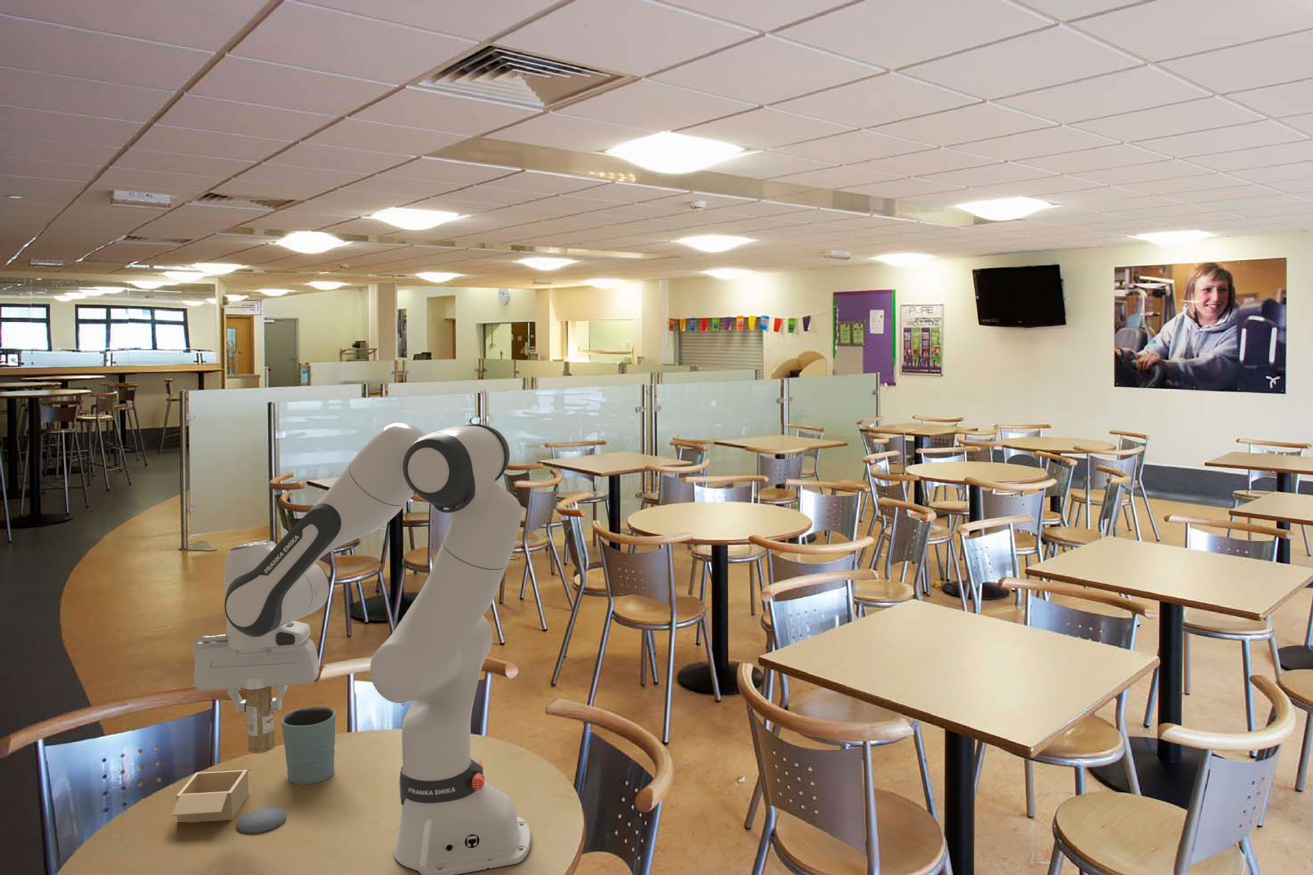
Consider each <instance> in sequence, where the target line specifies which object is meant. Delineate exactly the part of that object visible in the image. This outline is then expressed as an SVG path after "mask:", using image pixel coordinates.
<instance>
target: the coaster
mask: <svg viewBox="0 0 1313 875" xmlns="http://www.w3.org/2000/svg"><path fill="white" fill-rule="evenodd" d="M286 820H287V813H286V811H285V810H284V809H283V808H281V807H274V806H271V807H270V806H267V807H260V808H257V809H253V810H251V811H249V812H246V813H243V815H241V816H240V817H239V818H238V819H237V821H236V828H237V830H238V831H239V832H240V833H244V834H259V833H260V834H261V833H265V832H269V831H272V830H274V829H277V828H278V827H280V826H281V825H283V824H284V822H286Z"/></svg>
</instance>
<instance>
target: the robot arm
mask: <svg viewBox="0 0 1313 875" xmlns="http://www.w3.org/2000/svg"><path fill="white" fill-rule="evenodd" d="M510 453H511V451H510V447H509V444H508V442H507V440H506V438H505V436H504V435H503V434H502V433H501V432H499V431H498V430H497V428H496V429H495V428H494V427H491V426H489V425H485V424H480V423H479V424H478V423H472V424H471V423H470V424H466V425H456V426H455V425H453V426H450V427H445V428H441V429H439V430H438V431H434V432H433V431H432V432H429V433H427V434H426V433H425V432H424V431H423V430H421V429H420V428H419V427H417V426H414V425H412V424H410V423H407V422H392V423H390V424H388V425H386V426H385V427H384V428H382V429H381V430H380V431H379V432H378V433H377V434H376V435H374V436H373V437H372V438H371V439H370V440H369V441H368V442H367V443H366V444H365V445H364V446H363V447H362V448H361V449H360V451H359V452H358V453H357V454H356V455H355V457H354V458H353V459H352V460H351V461H350V463H349V464H348V465H347V467H346V468H345V469H344V471H343V472H342V473H341V474H340V475H339V476H338V478H337V479H336V480H335V482H334V483H333V484H332V485H331V486H330V487H329V489H328V490H327V491H326V492H325V493H324V495H323V496H321V498H319V499H318V501H317V502H315V504H314V505H313V506H312V507H311V509H309V510H308V512H307V513H306V514H305V515H304V516H302V518H300V520H299V521H298V522H296V523H295V524H294V525H293V527H292V528H291V529H290V530H289V531H288V532H287V533H285V534H286V535H284V536H283V538H282V539H281V540H280V541H279V542H278V543H277V544H276V543H275V542H274V541H272V540H269V539H268V540H267V539H263V540H257V541H251V542H248V543H244V544H240V545H236V546H234V547H232V548H231V549H229V550H228V552H227V554H226V558H225V561H224V572H223V575H224V576H223V579H224V580H223V584H224V585H223V586H224V602H223V603H224V608H223V609H224V613H225V616H226V617H225V618H226V619H225V620H226V634H219V635H212V636H210V635H204V636H201V638H199V639H197V640H196V641H195V642H194V643H193V644H192V655H193V659H194V661H195V663H194V671H193V686H194V687H195V688H196V689H197V690H198V691H199V692H200V691H202V692H204V691H216V690H220V691H221V690H227V694H228V697H230V699H231V700H232V702H233V703H234V705H235V711H236V713H237V714H240V713H246V699H243V697H242V695H240V693H239V691H241V689H245V688H246V681H247V680H248V679H255V678H261V679H262V680H263V685H264V686H265V687H268V686H271V687H275V691H276V692H278V695H277V696H276V697H272V700H271V701H270V705H271V710H273V711H280V710H281V709H282V707H283V702H282V700H283V697H284V695H285V693H286V690H287V689H288V686H294V685H295V686H296V685H311V684H312V683H314V681H315V680H316V679H317V678H318V676H319V674H320V666H319V665H320V663H319V657H318V650H317V647H316V644H315V642H314V641H313V639H311V638H309V637H310V635H311V631H312V630H311V626H310V624H308V623H305V622H301V621H297V620H299V619H302V618H305V617H306V616H309V615H311V614H314V613H315V612H317V611H319V610H320V609H322V608H323V607H324V606H325V605H326V603H327V602H328V599H329V597H330V592H331V585H330V579H329V577H328V574H327V572H326V571H325V569H324V568H323V567H322V566H321V565H319V563H317V562H318V561H319V560H320V559H321V558H323V557H324V556H326V555H327V554H328V553H329V552H331V551H334V550H335V549H337V548H338V547H341V546H343V545H344V544H348V543H349V542H352V541H355V540H357V539H359V538H362V537H364V536H367V535H369V534H372V533H374V532H376V531H378V530H380V529H381V528H382V527H384V526H385V525H386V524H388V523H389V522H390V521H391V520H392V519H393V518H395V516H397V514H398V513H400V512H401V510H402V509H403V508H404V506H405V505H407V502H409V500H410V499H411V498H412V497H413V496H414V494H416V495H417V496H418V497H419V498H421V499H422V500H425V501H426V502H428V503H430V504H431V505H432V506H434V508H435V509H436V510H437V511H439V512H441V513H445V514H449V513H450V514H451V519H450V521H449V524H448V526H447V527H448V528H447V530H446V533H445V535H444V537H443V541H442V542H441V545H440V547H439V550H438V552H437V555H436V556H435V557H436V558H434V559H435V560H434V562H433V564H432V567H431V568H430V572H429V574H428V577H426V578H427V579H426V580H425V582H424V584H423V585H422V588H421V590H420V591H419V592H418V594H417V596H416V597H415V599H414V600H413V601H412V603H411V604H410V606H409V608H408V609H407V611H406V613H405V614H404V615H403V616H402V619H401V620H400V621H399V623H398V624H397V626H396V628H394V630H393V632H392V633H391V635H389V637H388V638H387V639H386V640H385V641H384V642H383V643H382V645H380V646H379V648H377V649H376V651H375V652H374V654H373V655H372V658H371V659H370V660H371V661H370V665H369V673H370V675H369V676H370V678H371V681H372V682H371V683H372V686H373V687H374V689H375V691H376V692H377V693H378V694H379V695H380V696H381V697H382V698H383V699H385V700H387V701H389V702H391V703H394V704H404V703H408V702H412V703H411V704H410V706H409V708H408V710H407V713H406V714H405V715H404V717H403V721H402V725H401V753H402V755H401V756H402V759H401V760H402V766H401V768H400V771H399V773H400V774H399V776H398V777H399V780H398V781H399V787H398V788H399V798H400V804H401V814H400V824H399V831H398V834H397V838H396V843H395V846H394V850H393V855H394V858H395V860H396V861H397V863H399V864H400V865H402V866H404V867H406V868H409V869H412V870H415V871H417V872H419V873H420V875H455V874H456V875H460V874H467V873H471V872H477V871H483V870H488V869H487V868H489V869H493V868H499V867H505V866H510V865H515V864H519V863H521V862H522V861H523V860H524V859H525V858H526V857H527V855H528V854H529V851H530V849H531V844H532V842H531V841H532V836H531V835H532V834H531V830H530V826H529V823H528V822H527V821H526V820H525V819H524V818H522V817H520V816H517V812H516V809H515V806H514V802H513V801H512V799H511V797H510V796H509V795H508V794H506V793H504V792H502V791H501V790H499V789H497V788H496V787H494V786H492V785H490V784H489V783H487V782H486V781H485V776H484V767H483V765H482V764H483V763H482V760H481V759H479V760H478V762H476V761H474V760H473V759H472V758H471V732H472V731H471V726H472V724H471V723H472V722H471V721H472V713H473V706H474V702H475V698H476V697H475V696H476V693H477V689H478V684H479V679H480V676H481V671H482V668H483V667H484V666H483V665H484V663H485V660H486V659H487V657H488V655H489V653H490V650H491V649H492V645H493V642H494V634H493V630H492V626H491V624H490V622H489V621H488V619H487V618H486V617H485V616H484V615H485V614H486V612H488V610H489V609H490V607H491V606H492V604H493V601H494V599H495V597H496V594H497V591H498V589H499V587H500V585H501V582H502V579H503V577H504V575H505V573H506V570H507V569H508V568H507V567H508V566H509V563H510V560H511V558H512V555H513V552H514V549H515V546H516V543H517V540H518V535H519V532H520V527H521V522H522V517H523V509H522V506H521V504H520V502H519V500H518V499H517V498H516V497H515V496H514V495H513V494H512V493H511V492H509V491H508V490H506V489H504V488H502V487H500V485H499V484H498V483H497V481H498V480H499V479H500V478H501V477H503V475H504V473H505V472H506V470H507V469H508V467H509V462H510Z"/></svg>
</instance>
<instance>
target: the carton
mask: <svg viewBox="0 0 1313 875" xmlns="http://www.w3.org/2000/svg"><path fill="white" fill-rule="evenodd" d="M251 770H252V769H251V768H238V769H237V768H235V769H233V768H232V769H218V770H202V771H198V772H195V773H194V774H193V775H192V776H191V777H190V779H189V780H188V781H187V782H186V784H185V785H184V786H183V787H182V789H181V790H179V792H178V793H177V795H176V796H175V797H176V803H175V806H174V809H173V812H172V814H171V816H173V817H174V816H176V817H177V818H176V820H177V822H188V823H202V822H217V821H232V820H233V819H234V818H235V816H236V815H237V813H238V812H239V810H240V809H241V807H242V806H243V804H245V801H246V800H247V798H248V797H249V796H250V794H249V793H250V792H249V789H250V788H249V771H251Z"/></svg>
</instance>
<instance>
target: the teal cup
mask: <svg viewBox="0 0 1313 875" xmlns="http://www.w3.org/2000/svg"><path fill="white" fill-rule="evenodd" d="M336 715H337V714H336V711H335V709H334V708H330V707H326V706H313V707H311V706H310V707H304V708H300V709H296V710H293V711H290V712H288V713H286V714H285V715H283V716H282V718H281V720H280V723H281V731H282V738H283V745H284V751H285V753H284V754H285V763H286V773H287V774H286V775H287V780H288V781H289V782H290V783H292V784H294V785H307V786H308V785H314V784H317V783H321V782H323V781H326V780H327V779H329V778H330V777H332V776H333V774H334V771H335V743H336V742H335V740H336V720H337V718H336V717H337V716H336Z"/></svg>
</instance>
